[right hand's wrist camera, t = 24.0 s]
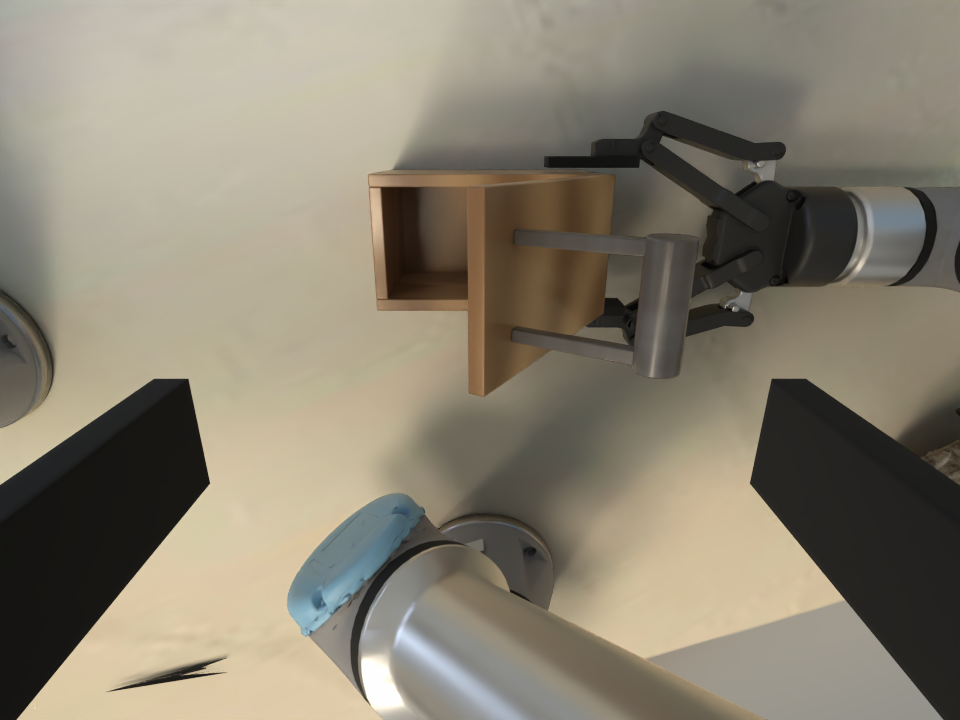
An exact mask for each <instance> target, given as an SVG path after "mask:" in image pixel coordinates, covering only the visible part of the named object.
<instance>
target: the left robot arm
mask: <svg viewBox="0 0 960 720" xmlns="http://www.w3.org/2000/svg"><path fill="white" fill-rule="evenodd" d="M662 136H665V137H668V138H671V139H674V140H676V141H679V142H682V143H685V144H688V145H691V146H693V147H696V148H699V149H702V150H705V151H708V152H711V153H713V154H716V155H719V156H722V157H725V158H728V159H732V160H739V161H743V168H744V170H745V171H747V172H751V173H752V174H753V175H754V176H755V181H754V182H752V183H751V184H749V185H748V186H746V187H745V188H743V189H742V190H740V191H739V192H737V193H736V194H734V193H732V192H731V191H729V190H727V189H725V188H723V187H721V186H720V185H718V184H717V183H716V182H714V181H713V180H711V179H710V178H708V177H707V176H706V175H704V174H703V173H701V172H700V171H698V170H697V169H696V168H694V167H693V166H691V165H690V164H688V163H687V162H686V161H684V160H683V159H681V158H680V157H678V156H677V155H676V154H674V153H673V152H671V151H670V150H668V149H667V148H666V147H664V146H663V145H661V144H660V143H659V142H660V140H661V138H662ZM785 152H786V147H785V145H784V144H783V143H781V142H767V143H753V142H750V141H747V140H744V139H742V138H739V137H736V136H733V135H730V134H728V133H725V132H722V131H719V130H716V129H713V128H711V127H708V126H705V125H702V124H699V123H697V122H694V121H691V120H688V119H685V118H683V117H680V116H677V115H674V114H671V113H669V112H666V111H661V112H657V113H652V114H649V115H648V116H647V117H646V118H645V120H644V126H643V128H642V131H641V133H640V135H639V136H638V137H636V138H635V139H600V140H597V141H594V142H592V145H591V156H545V157H544V167H547V168H639V164H640V159H641V160H643V161H644V162H646V163H647V164H649V165H650V166H651V167H653V168H654V169H656V170H657V171H659V172H660V173H662V174H663V175H665V176H666V177H667V178H669V179H670V180H672V181H673V182H675V183H676V184H678V185H679V186H681V187H682V188H683V189H685V190H686V191H688V192H689V193H691V194H692V195H694V196H695V197H697V198H698V199H699V200H700V201H701V202H702V203H704V204H705V205H707V206H708V207H709V208H711V209H712V210H713V212H712V214H711V216H708V218H707V225H706V227H707V238H706V241H705V243H704V246H703V252H702V256H704V257H705V259H704V260H702V261H700V262H699V263H697V264H696V265H695V272H694V279H693V286H692V293H691V298H692V297H694V296H695V295H697V294H699V293H701V292H703V291H705V290H707V289H712V288H715V287H717V286H719V285H721V284H723V283H725V282H729V283H730V284H731V285H732V286H734V287H735V288H736V291H735V293H734V294H733V295H731V296H728V297H725V298H722V299H721V300H720V304H709V305H705V306H701V307H698V308H694V309H691V310H689V314H688V321H687V328H686V335H685V337H687V336H690V335H694V334H697V333H701V332H704V331H708V330H711V329H715V328H718V327H722V326H739V327H747V326H749V325H751V324H752V323H753V321H754V316H753V314H752V313H750V312H749V309H750V305H751V300H752V296H753V293H754V292H756V291H758V290H760V289H763V288H766V287H820V286H825V285H828V286H831V287H850V286H924V287H939V288H945V289H950V290H953V291H957V292H960V187H932V188H909V187H843V188H837V187H784V186H781V185H780V184H778V183H777V182H775V181H774V178H775V171H776V163H777V160H778V159H781V158H782V157H783V156H784V154H785ZM638 304H639V298H638V299H636V300H634V301H633V302H631V303H629V304H627V305H625V306H624V305H623V304H622V303H621V301H620V300H619V299H618V298H605V303H604V313H603V314H602V315H601V316H599V317H598V318H596V319H595V320H593V321H592V322H591V323H589V324H588V325H586V327H618V328H622V331H623V337H624V339H625V340H626V341H627V343H628V344H629V345H630V346H634V341H635V332H636V323H637V314H638ZM424 513H425V510H424V508H423V507H419V506H418V505H417V504H416V503H415V502H414V501H413V500H412V499H411V498H410V497H409V496H408V495H405V494H402V493H394V494H388V495H385V496H383V497H380V498H378V499H376V500H374V501H372V502H371V503H369V504H367V505H366V506H364V507H363V508H361V509H360V510H358V511H357V512H355V513H354V514H353V515H351V516H350V517H349V518H348V519H346V520H345V521H344V522H343V523H342V524H341V525H339V526H338V527H337V528H336V529H335V530H334V531H333V532H332V533H331V534H330V535H329V536H328V537H327V538H326V539H325V540H324V541H323V542H322V543H321V544H320V545H319V546H318V547H317V548H316V549H315V551H314V552H313V553H312V554H311V555H310V556H309V558H308V559H307V560H306V562H305V563H304V564H303V566H302V567H301V569H300V571H299V572H298V573H297V575H296V577H295V579H294V580H293V582H292V585H291V587H290V590H289V593H288V597H287V607H288V611H289V614H290V615H291V617H292V618H293V619H294V620H295V622H296V623H297V624H298V625H299V626H300V628H301V634H303V635H304V636H305V637H307V636H309V637H310V638H311V639H312V640H313V641H314V642H315V643H316V644H317V645H318V646H319V647H320V648H321V649H322V650H323V651H324V653H325V654H326V655H327V656H328V657H329V658H330V659H331V660H332V661H333V662H334V663H335V664H336V666H337V667H338V668H339V669H340V670H341V671H342V672H343V673H344V675H345V676H346V677H347V678H348V679H349V681H350V682H351V683H352V684H353V685H354V686H355V688H356V689H357V690H358V691H359V692H360V694H361V695H362V696H363V697H364V699H365V700H366V701H367V702H368V703H369V704H370V706H371V707H372V708H373V709H374V711H375V712H376V713H377V714H378V715H379V716H380V717H381V718H382V719H384V720H766V719H764V718H762V717H760V716H758V715H756V714H754V713H752V712H750V711H748V710H746V709H744V708H742V707H740V706H738V705H736V704H734V703H732V702H730V701H728V700H726V699H724V698H722V697H720V696H718V695H716V694H714V693H712V692H710V691H708V690H706V689H704V688H702V687H700V686H698V685H696V684H694V683H692V682H690V681H688V680H686V679H684V678H682V677H680V676H678V675H676V674H674V673H672V672H670V671H668V670H666V669H664V668H662V667H660V666H658V665H656V664H654V663H651V662H649V661H648V660H646V659H644V658H641V657H639V656H637V655H635V654H633V653H631V652H629V651H627V650H625V649H623V648H621V647H619V646H617V645H615V644H613V643H611V642H609V641H607V640H605V639H603V638H601V637H599V636H597V635H595V634H593V633H591V632H589V631H587V630H585V629H583V628H581V627H579V626H577V625H575V624H573V623H571V622H569V621H567V620H565V619H563V618H561V617H559V616H557V615H555V614H553V613H551V612H549V611H548V608H549V604H550V600H551V596H552V592H553V587H554V569H553V563H552V558H551V554H550V552H549V549H548V547H547V545H546V544H545V542H544V541H543V539H542V538H541V537H540V536H539V535H538V534H537V533H536V532H535V531H534V530H532V529H531V528H530V527H528V526H527V525H525V524H523V523H521V522H519V521H517V520H515V519H512V518H509V517H505V516H500V515H493V514H478V515H471V516H466V517H462V518H459V519H456V520H454V521H452V522H450V523H448V524H446V525H444V526H443V527H441V528H440V529H437V528H436V527H435V526H434V525H433V524H432V523H431V522H430V520H429V519H428V518H427V517H426V515H425V514H424Z"/></svg>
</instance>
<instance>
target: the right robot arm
mask: <svg viewBox="0 0 960 720" xmlns="http://www.w3.org/2000/svg"><path fill="white" fill-rule="evenodd" d="M51 380H52V363H51V358H50V353H49V350H48V347H47V344H46V342H45V340H44V338H43V336H42V334H41V332H40V331H39V329H38V328H37V326H36V325H35V323H34V322H33V320H32V319H31V318H30V317H29V316H28V314H27V313H26V312H25V311H24V310H23V309H22V308H21V307H20V306H19V305H18V304H17V303H15V302H14V301H13V300H12V299H11V298H9V297H8V296H6V295H5V294H4V293H2V292H1V291H0V428H2V427H5V426H8V425H10V424H12V423H14V422H16V421H18V420H19V419H21V418H23V417H25V416H26V415H28V414H30V413H31V412H33V411H34V410H35V409H36V408H37V407H38V406H39V405H40V404H41V403H42V402H43V400H44V399H45V397H46V395H47V393H48V391H49V388H50V385H51ZM209 484H210V481H209V476H208V471H207V467H206V462H205V457H204V452H203V447H202V443H201V438H200V433H199V428H198V423H197V419H196V414H195V409H194V404H193V399H192V394H191V390H190V385H189V380H188V379H153V380H152V381H150V382H149V383H147V384H146V385H145V386H143V387H142V388H140V389H139V390H137V391H136V392H134V393H133V394H132V395H130V396H129V397H127V398H126V399H124V400H123V401H121V402H120V403H118V404H117V405H116V406H114V407H113V408H111V409H110V410H108V411H107V412H105V413H104V414H103V415H101V416H100V417H98V418H97V419H95V420H94V421H92V422H91V423H90V424H88V425H87V426H85V427H84V428H82V429H81V430H79V431H78V432H76V433H75V434H74V435H72V436H71V437H69V438H68V439H66V440H65V441H63V442H62V443H61V444H59V445H58V446H56V447H55V448H53V449H52V450H50V451H49V452H48V453H46V454H45V455H43V456H42V457H40V458H39V459H37V460H36V461H34V462H33V463H32V464H30V465H29V466H27V467H26V468H24V469H23V470H21V471H20V472H19V473H17V474H16V475H14V476H13V477H11V478H10V479H8V480H7V481H6V482H4V483H3V484H1V485H0V720H17V718H18V717H19V716H20V715H21V713H22V712H23V711H24V710H25V709H26V707H27V706H28V705H29V704H30V703H31V701H32V700H33V699H34V698H35V696H36V695H37V694H38V693H39V692H40V690H41V689H42V688H43V687H44V685H45V684H46V683H47V682H48V681H49V679H50V678H51V677H52V676H53V674H54V673H55V672H56V671H57V670H58V668H59V667H60V666H61V665H62V663H63V662H64V661H65V660H66V659H67V657H68V656H69V655H70V654H71V652H72V651H73V650H74V649H75V648H76V646H77V645H78V644H79V643H80V641H81V640H82V639H83V638H84V637H85V635H86V634H87V633H88V632H89V631H90V629H91V628H92V627H93V626H94V624H95V623H96V622H97V621H98V620H99V618H100V617H101V616H102V615H103V613H104V612H105V611H106V610H107V609H108V607H109V606H110V605H111V604H112V602H113V601H114V600H115V599H116V598H117V596H118V595H119V594H120V593H121V591H122V590H123V589H124V588H125V587H126V585H127V584H128V583H129V582H130V580H131V579H132V578H133V577H134V576H135V574H136V573H137V572H138V571H139V569H140V568H141V567H142V566H143V565H144V563H145V562H146V561H147V560H148V559H149V557H150V556H151V555H152V554H153V552H154V551H155V550H156V549H157V548H158V546H159V545H160V544H161V543H162V541H163V540H164V539H165V538H166V537H167V535H168V534H169V533H170V532H171V530H172V529H173V528H174V527H175V526H176V524H177V523H178V522H179V521H180V519H181V518H182V517H183V516H184V515H185V513H186V512H187V511H188V510H189V508H190V507H191V506H192V505H193V504H194V502H195V501H196V500H197V499H198V497H199V496H200V495H201V494H202V493H203V491H204V490H205V489H206V488H207V487H208V485H209ZM750 484H751V485H752V487H753V488H754V489H755V490H756V491H757V493H758V494H759V495H760V496H761V497H762V499H763V500H764V501H765V502H766V504H767V505H768V506H769V507H770V508H771V510H772V511H773V512H774V513H775V515H776V516H777V517H778V518H779V519H780V521H781V522H782V523H783V524H784V526H785V527H786V528H787V529H788V530H789V532H790V533H791V534H792V535H793V537H794V538H795V539H796V540H797V541H798V543H799V544H800V545H801V546H802V548H803V549H804V550H805V551H806V552H807V554H808V555H809V556H810V557H811V559H812V560H813V561H814V562H815V563H816V565H817V566H818V567H819V568H820V569H821V571H822V572H823V573H824V574H825V576H826V577H827V578H828V579H829V580H830V582H831V583H832V584H833V585H834V587H835V588H836V589H837V590H838V591H839V593H840V594H841V595H842V596H843V598H844V599H845V600H846V601H847V602H848V604H849V605H850V606H851V607H852V609H853V610H854V611H855V612H856V613H857V615H858V616H859V617H860V618H861V620H862V621H863V622H864V623H865V624H866V626H867V627H868V628H869V629H870V630H871V632H872V633H873V634H874V635H875V637H876V638H877V639H878V640H879V641H880V643H881V644H882V645H883V646H884V648H885V649H886V650H887V651H888V652H889V654H890V655H891V656H892V657H893V659H894V660H895V661H896V662H897V663H898V665H899V666H900V667H901V668H902V670H903V671H904V672H905V673H906V674H907V676H908V677H909V678H910V679H911V681H912V682H913V683H914V684H915V685H916V687H917V688H918V689H919V690H920V692H921V693H922V694H923V695H924V696H925V698H926V699H927V700H928V701H929V703H930V704H931V705H932V706H933V707H934V709H935V710H936V711H937V712H938V713H939V715H940V716H941V717H942V718H943V720H960V485H959V484H957V483H956V482H954V481H953V480H952V479H950V478H949V477H947V476H946V475H944V474H943V473H941V472H940V471H939V470H937V469H936V468H934V467H933V466H931V465H930V464H928V463H927V462H926V461H924V460H923V459H921V458H920V457H918V456H917V455H915V454H914V453H912V452H911V451H910V450H908V449H907V448H905V447H904V446H902V445H901V444H899V443H898V442H897V441H895V440H894V439H892V438H891V437H889V436H888V435H886V434H885V433H884V432H882V431H881V430H879V429H878V428H876V427H875V426H873V425H872V424H870V423H869V422H868V421H866V420H865V419H863V418H862V417H860V416H859V415H857V414H856V413H855V412H853V411H852V410H850V409H849V408H847V407H846V406H844V405H843V404H842V403H840V402H839V401H837V400H836V399H834V398H833V397H831V396H830V395H828V394H827V393H826V392H824V391H823V390H821V389H820V388H818V387H817V386H815V385H814V384H813V383H811V382H810V381H808V380H807V379H772V380H771V385H770V390H769V394H768V399H767V404H766V409H765V414H764V419H763V423H762V428H761V433H760V438H759V443H758V447H757V452H756V457H755V462H754V467H753V471H752V476H751V481H750Z"/></svg>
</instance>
